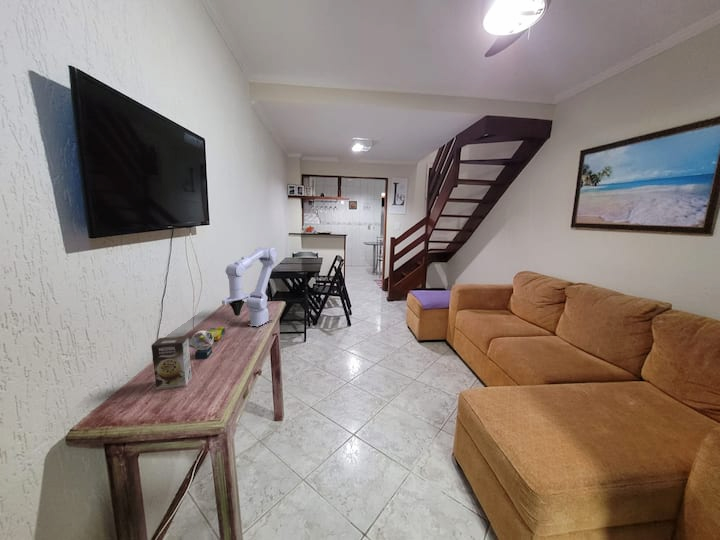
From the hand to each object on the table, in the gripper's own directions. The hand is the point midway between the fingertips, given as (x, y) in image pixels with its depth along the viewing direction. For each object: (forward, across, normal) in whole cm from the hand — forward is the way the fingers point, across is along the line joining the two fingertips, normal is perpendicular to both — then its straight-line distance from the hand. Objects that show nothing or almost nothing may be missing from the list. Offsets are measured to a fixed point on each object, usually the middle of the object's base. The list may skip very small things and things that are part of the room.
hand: (237, 315), depth 131 cm
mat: (+11, +11, -10) cm, 18 cm away
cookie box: (+12, +38, +14) cm, 42 cm away
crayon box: (+8, +3, -11) cm, 14 cm away
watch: (+11, +21, +5) cm, 24 cm away
